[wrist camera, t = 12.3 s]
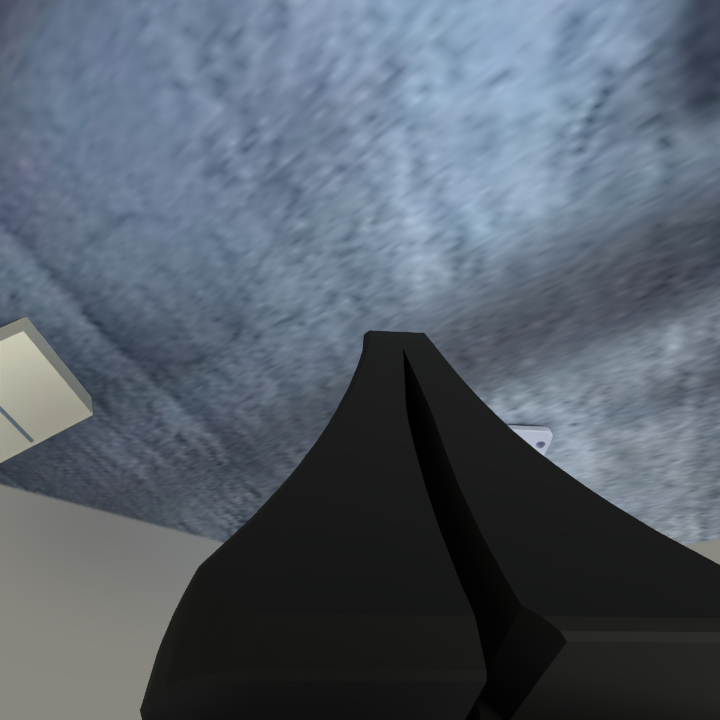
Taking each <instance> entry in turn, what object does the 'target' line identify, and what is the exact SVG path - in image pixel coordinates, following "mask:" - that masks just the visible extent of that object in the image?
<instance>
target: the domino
mask: <svg viewBox="0 0 720 720" xmlns="http://www.w3.org/2000/svg"><path fill="white" fill-rule="evenodd" d="M92 415H93V409H92V399H91V396H90V395H89V393H88V392H87V391H86V390H85V389H84V387H83V386H82V385H81V384H80V382H79V381H78V380H77V379H76V377H75V376H74V375H73V374H72V372H71V371H70V370H69V369H68V367H67V366H66V365H65V364H64V363H63V361H62V360H61V359H60V358H59V356H58V355H57V354H56V353H55V351H54V350H53V349H52V348H51V346H50V345H49V344H48V343H47V341H46V340H45V339H44V338H43V337H42V335H41V334H40V333H39V332H38V330H37V329H36V328H35V327H34V325H33V324H32V323H31V322H30V320H29V319H28V318H27V317H24V318H21V319H19V320H17V321H15V322H12V323H10V324H8V325H6V326H3V327H1V328H0V463H1V462H3V461H5V460H7V459H9V458H11V457H13V456H15V455H17V454H19V453H21V452H22V451H24V450H26V449H28V448H30V447H32V446H34V445H36V444H38V443H40V442H42V441H44V440H46V439H48V438H50V437H51V436H53V435H55V434H57V433H59V432H61V431H63V430H65V429H67V428H69V427H71V426H73V425H75V424H77V423H78V422H80V421H82V420H84V419H86V418H88V417H90V416H92Z"/></svg>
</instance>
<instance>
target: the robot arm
mask: <svg viewBox="0 0 720 720" xmlns="http://www.w3.org/2000/svg"><path fill="white" fill-rule="evenodd" d="M552 436H553V435H552V433H551V431H550V429H549V428H547V427H538V426H516V425H506V424H505V423H504V422H503V421H502V420H501V419H500V418H499V417H498V416H497V415H496V414H495V413H494V412H493V411H492V410H491V409H490V408H489V407H488V406H487V405H486V404H485V403H484V402H483V401H482V400H481V399H480V398H479V397H478V396H477V395H476V394H475V393H474V392H473V391H472V390H471V388H470V387H469V386H468V385H467V384H466V383H465V382H464V381H463V380H462V378H461V377H460V376H459V375H458V374H457V373H456V371H455V370H454V369H453V368H452V367H451V365H450V364H449V363H448V362H447V360H446V359H445V358H444V357H443V356H442V354H441V353H440V352H439V351H438V349H437V348H436V347H435V346H434V344H433V343H432V342H431V341H430V339H429V338H428V337H427V336H426V335H425V333H412V332H389V331H368V332H367V333H366V334H364V340H363V350H362V354H361V357H360V360H359V364H358V366H357V369H356V371H355V373H354V376H353V378H352V381H351V383H350V385H349V387H348V389H347V391H346V393H345V395H344V397H343V399H342V401H341V403H340V404H339V406H338V408H337V410H336V412H335V414H334V415H333V417H332V419H331V420H330V422H329V424H328V425H327V427H326V428H325V430H324V431H323V433H322V434H321V436H320V437H319V439H318V440H317V442H316V443H315V444H314V446H313V447H312V448H311V450H310V451H309V452H308V454H307V455H306V456H305V458H304V459H303V460H302V462H301V463H300V464H299V465H298V467H297V468H296V469H295V470H294V472H293V473H292V474H291V475H290V476H289V478H288V479H287V480H286V481H285V482H284V483H283V484H282V486H281V487H280V488H279V489H278V490H277V491H276V492H275V493H274V494H273V495H272V496H271V497H270V499H269V500H268V501H267V502H266V503H265V504H264V505H263V506H262V507H261V508H260V509H259V510H258V512H257V513H256V514H255V515H254V516H253V517H252V518H251V519H250V520H249V521H248V522H247V523H246V524H245V525H244V526H242V527H241V528H240V529H239V530H238V531H237V532H236V533H235V534H234V535H233V536H232V537H230V538H229V539H228V540H227V541H226V542H225V543H224V544H223V545H222V546H221V547H220V548H218V549H217V550H216V551H215V552H214V553H213V554H212V555H211V556H210V557H209V558H208V559H207V560H205V561H204V562H203V563H202V564H201V565H200V566H199V568H198V569H197V571H196V572H195V575H194V576H193V578H192V580H191V581H190V583H189V585H188V587H187V589H186V591H185V593H184V594H183V596H182V598H181V600H180V602H179V604H178V606H177V608H176V610H175V612H174V614H173V616H172V619H171V621H170V623H169V626H168V628H167V631H166V633H165V635H164V638H163V640H162V642H161V645H160V647H159V650H158V653H157V656H156V659H155V663H154V666H153V669H152V673H151V676H150V679H149V682H148V686H147V689H146V693H145V696H144V699H143V703H142V706H141V709H140V712H141V717H142V720H720V565H719V564H717V563H715V562H713V561H712V560H710V559H708V558H706V557H704V556H702V555H700V554H698V553H697V552H695V551H693V550H691V549H689V548H687V547H685V546H684V545H682V544H680V543H678V542H676V541H674V540H672V539H671V538H669V537H667V536H665V535H663V534H661V533H659V532H658V531H656V530H654V529H653V528H651V527H649V526H648V525H646V524H644V523H643V522H641V521H639V520H638V519H636V518H634V517H633V516H631V515H629V514H628V513H626V512H625V511H623V510H621V509H620V508H618V507H616V506H615V505H613V504H611V503H610V502H608V501H607V500H605V499H604V498H602V497H601V496H599V495H598V494H596V493H595V492H593V491H592V490H590V489H589V488H587V487H586V486H584V485H583V484H581V483H580V482H579V481H577V480H576V479H574V478H573V477H572V476H570V475H569V474H567V473H566V472H565V471H563V470H562V469H560V468H559V467H558V466H556V465H555V464H554V463H552V462H551V461H550V460H548V459H547V458H546V457H544V455H545V452H546V450H547V448H548V446H549V444H550V442H551V439H552ZM538 442H539V443H538Z"/></svg>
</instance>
